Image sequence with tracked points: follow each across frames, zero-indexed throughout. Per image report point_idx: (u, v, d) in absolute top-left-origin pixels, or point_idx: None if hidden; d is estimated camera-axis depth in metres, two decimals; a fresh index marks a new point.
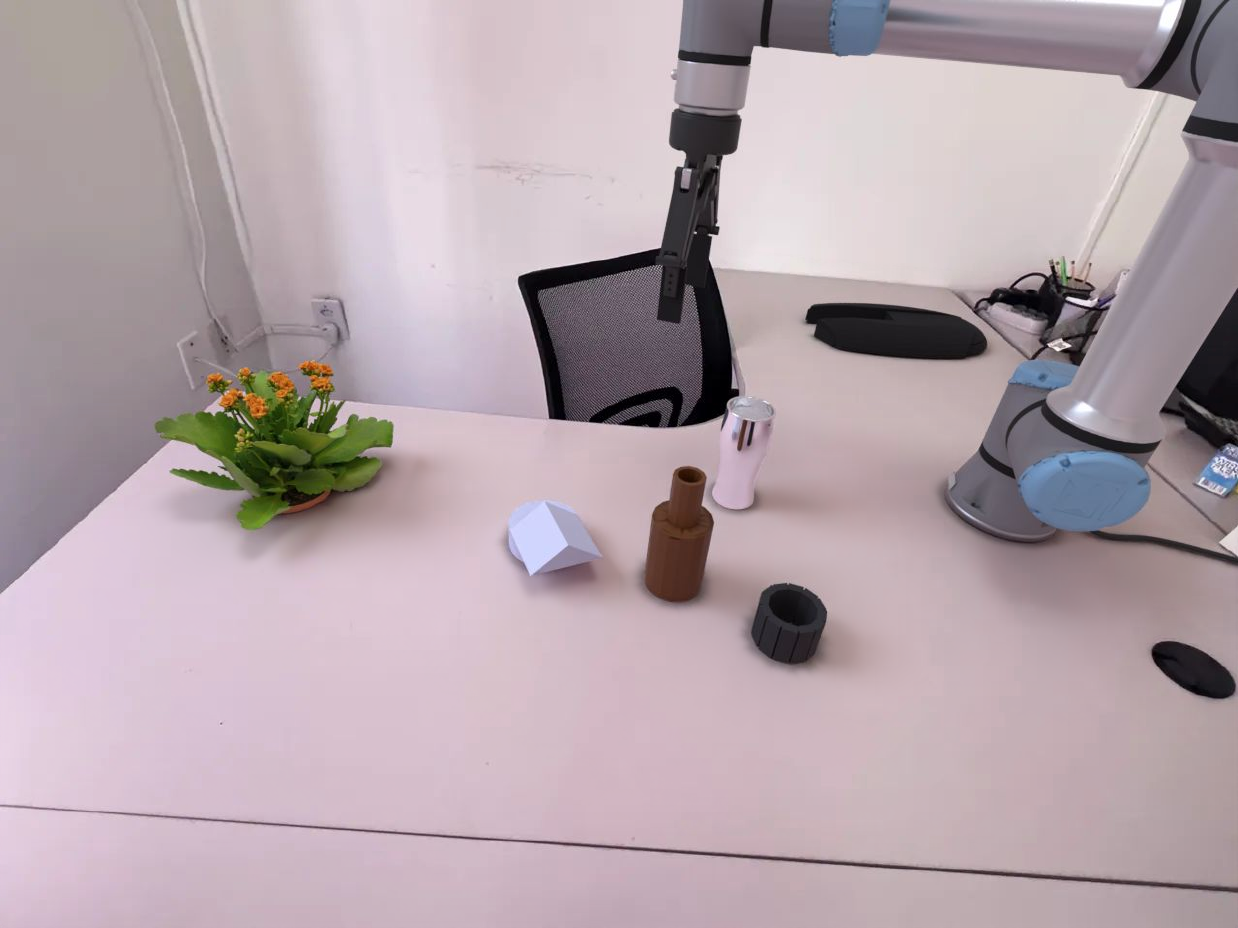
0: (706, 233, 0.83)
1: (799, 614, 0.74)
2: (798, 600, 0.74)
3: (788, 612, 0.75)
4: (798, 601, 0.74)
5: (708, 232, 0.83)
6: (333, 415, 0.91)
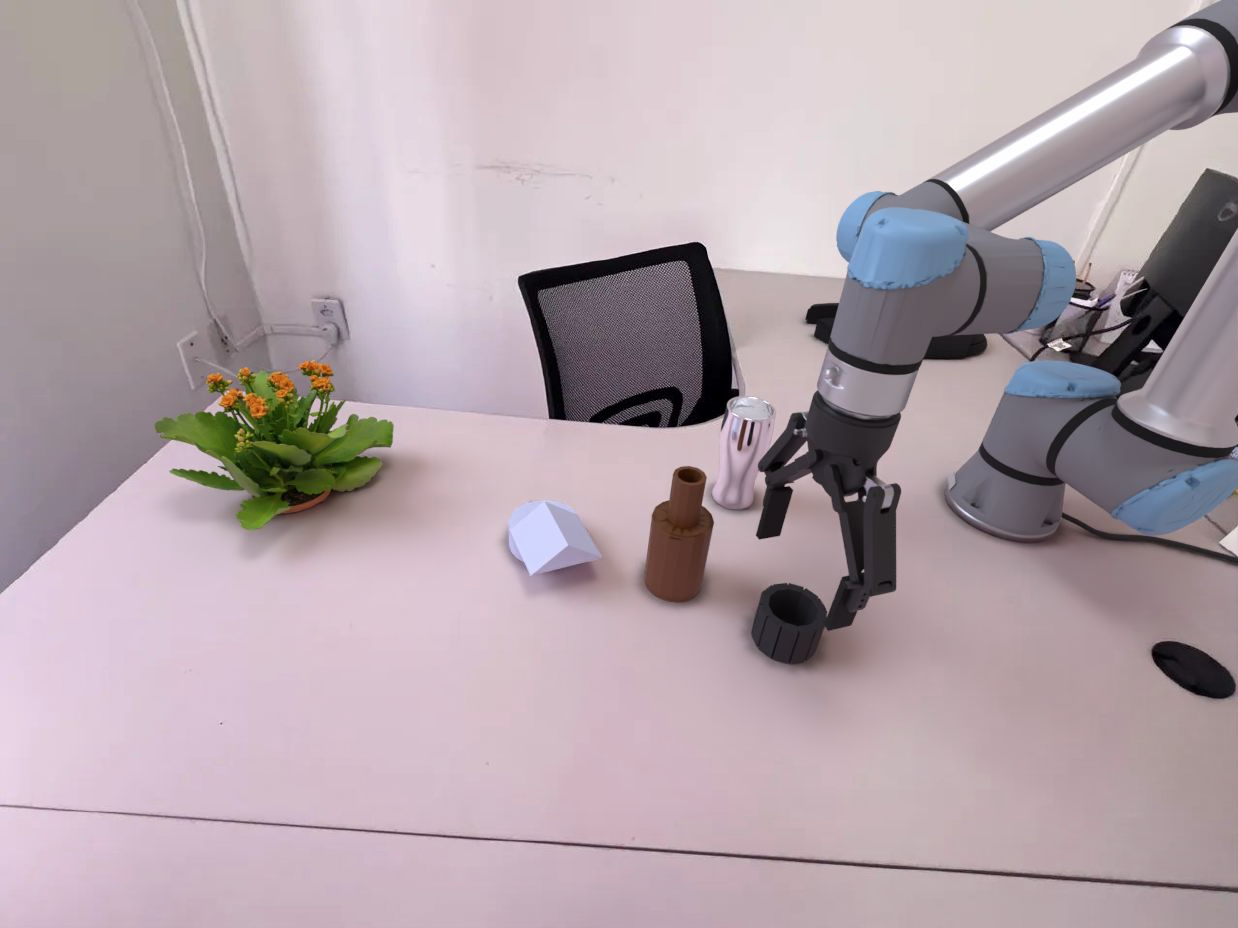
0: (783, 485, 0.70)
1: (799, 614, 0.74)
2: (798, 600, 0.74)
3: (788, 612, 0.75)
4: (798, 601, 0.74)
5: (785, 483, 0.70)
6: (333, 415, 0.91)
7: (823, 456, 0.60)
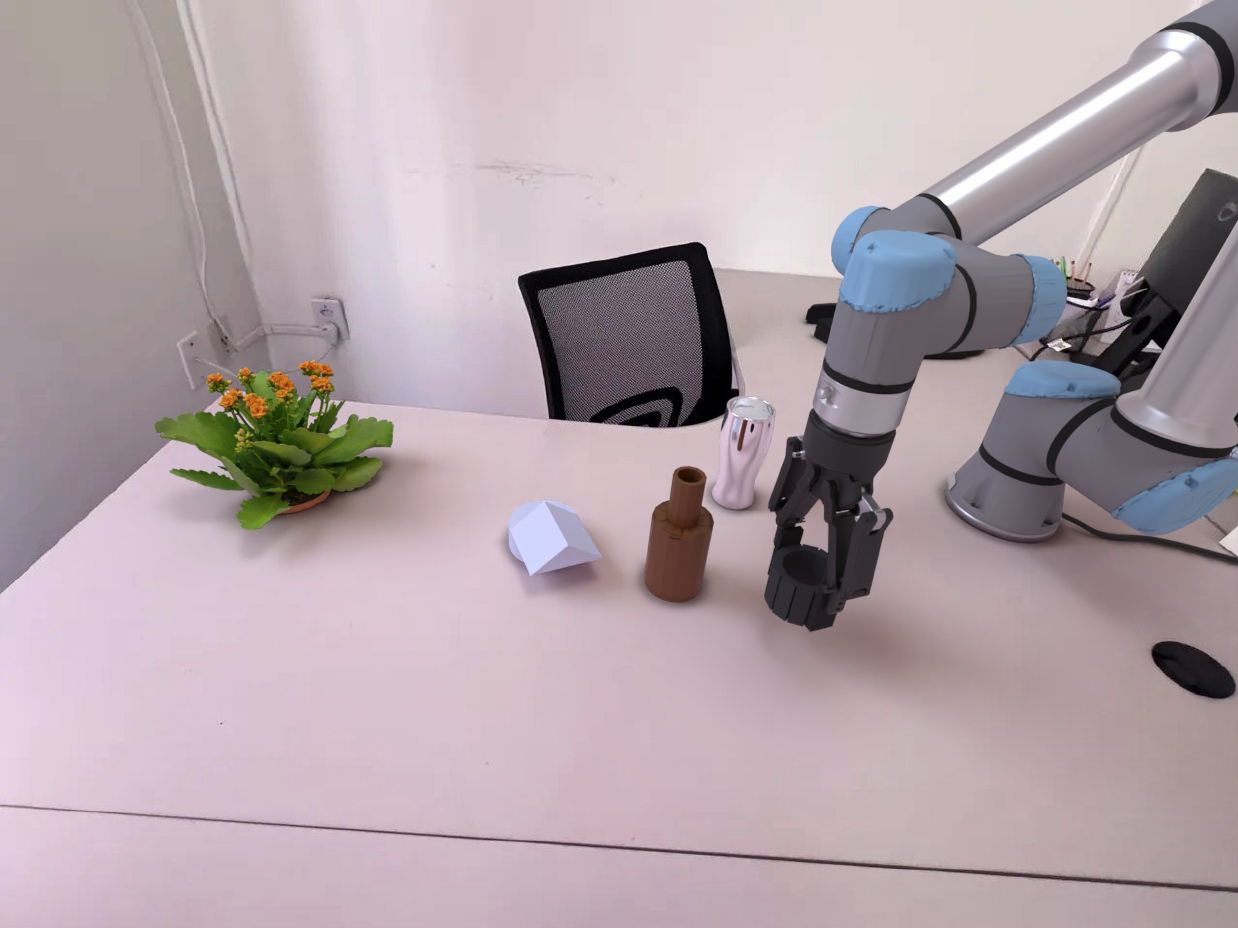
0: (795, 524, 0.70)
1: (814, 576, 0.71)
2: (813, 561, 0.71)
3: (802, 575, 0.72)
4: (813, 562, 0.71)
5: (797, 522, 0.70)
6: (333, 415, 0.91)
7: (820, 469, 0.61)
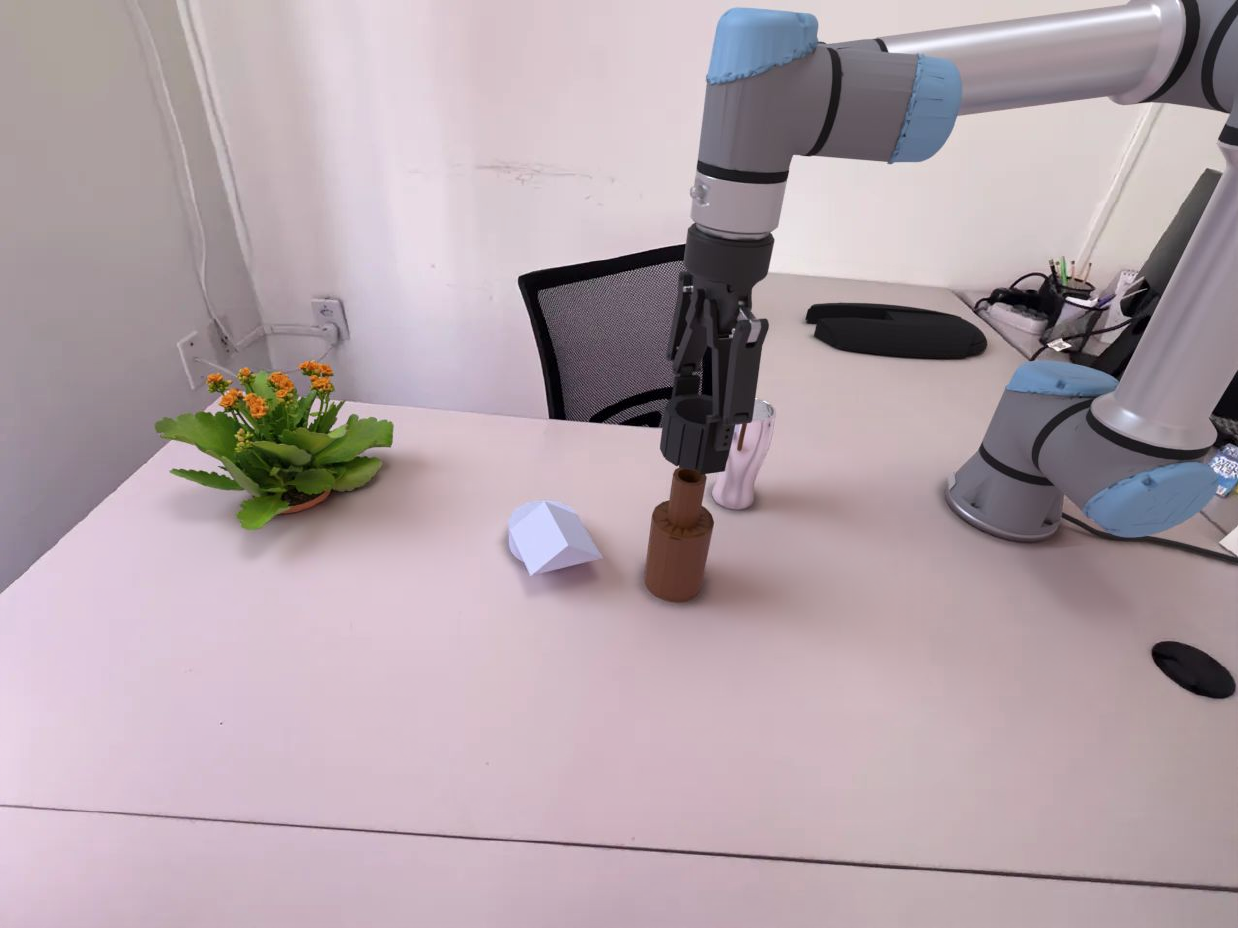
0: (692, 372, 0.68)
1: None
2: (710, 411, 0.69)
3: None
4: (710, 412, 0.69)
5: (693, 370, 0.68)
6: (333, 415, 0.91)
7: (704, 292, 0.59)
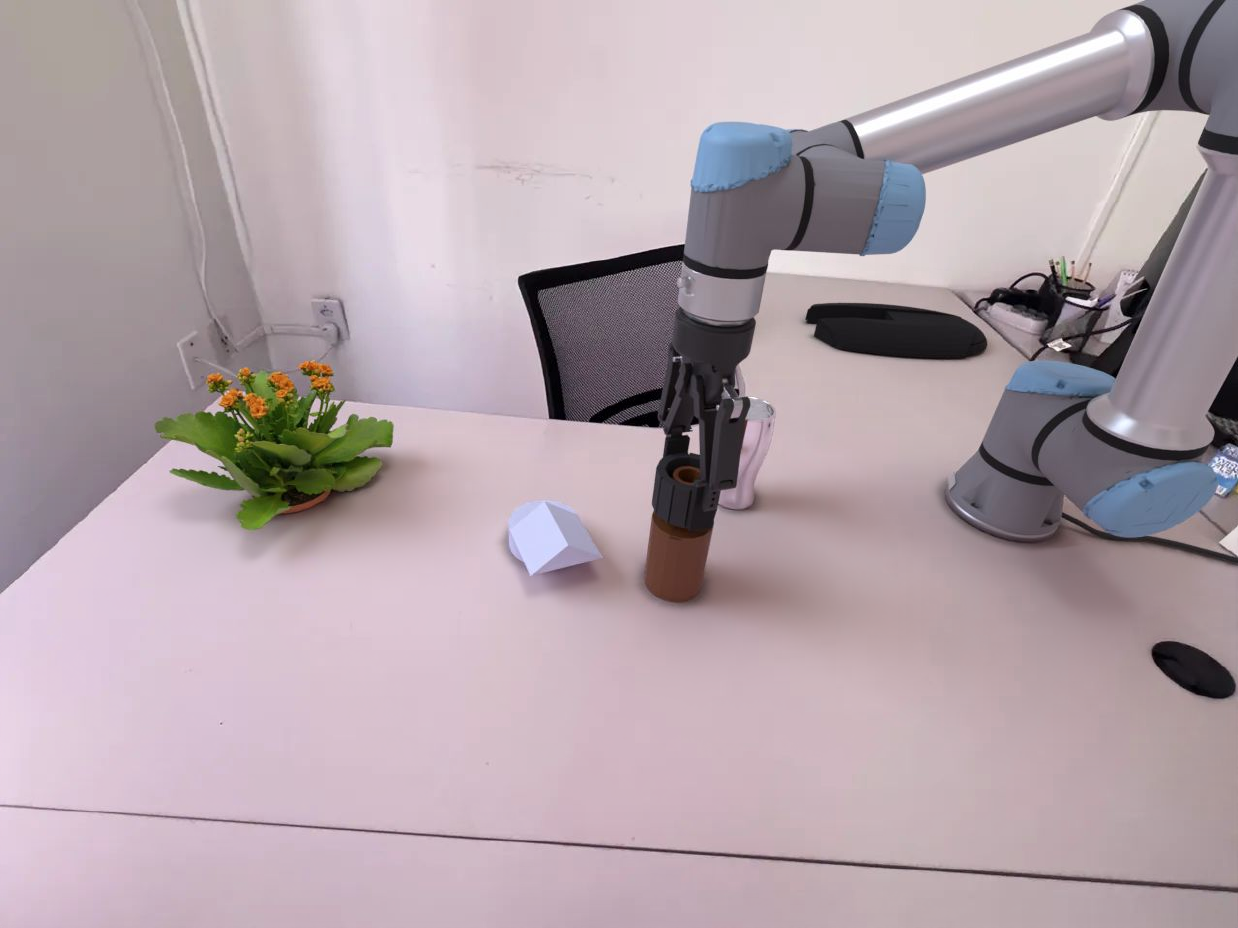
0: (681, 432, 0.73)
1: None
2: None
3: None
4: None
5: (683, 431, 0.73)
6: (333, 415, 0.91)
7: (692, 367, 0.64)
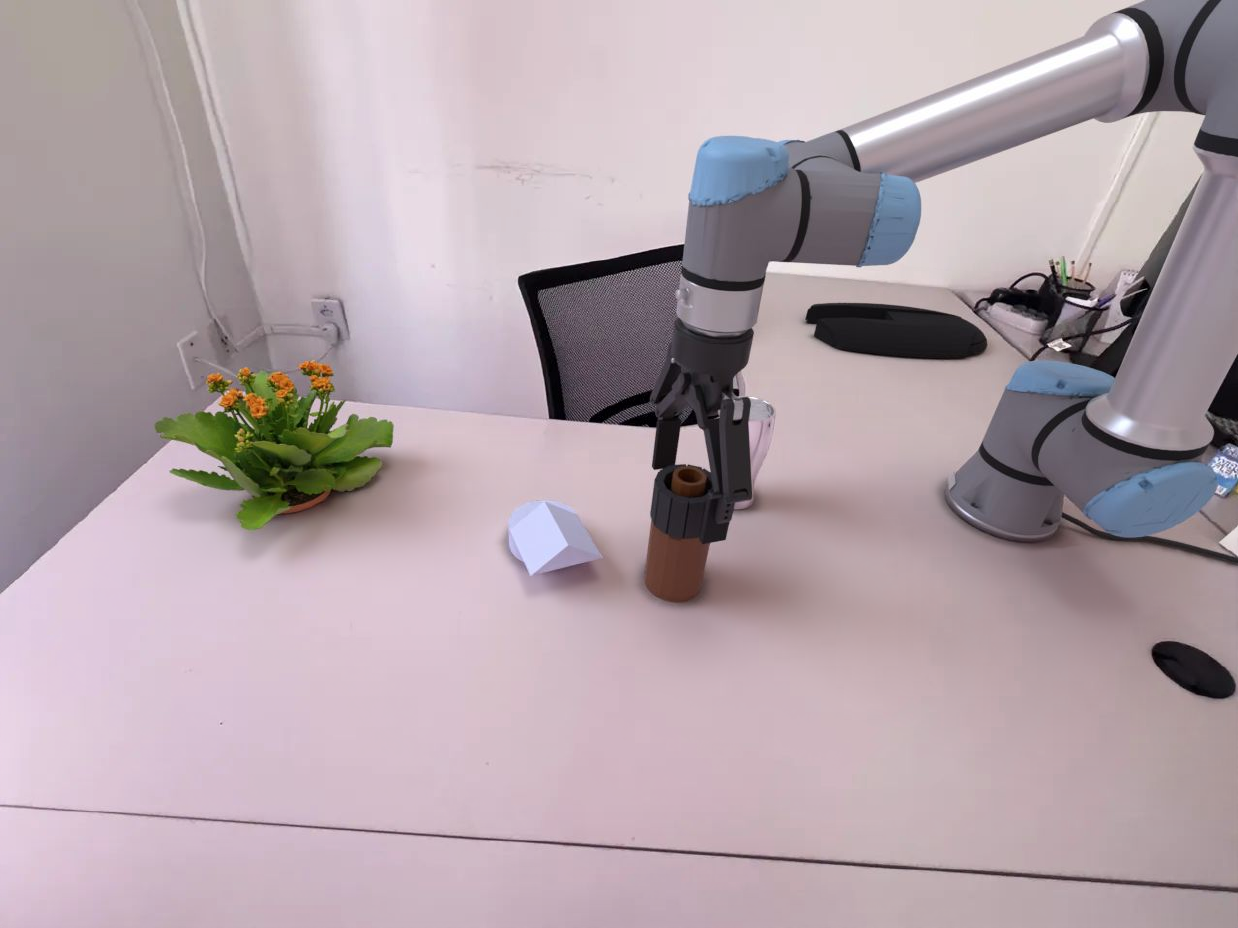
0: (672, 416, 0.75)
1: None
2: None
3: None
4: None
5: (674, 414, 0.75)
6: (333, 415, 0.91)
7: (691, 379, 0.65)
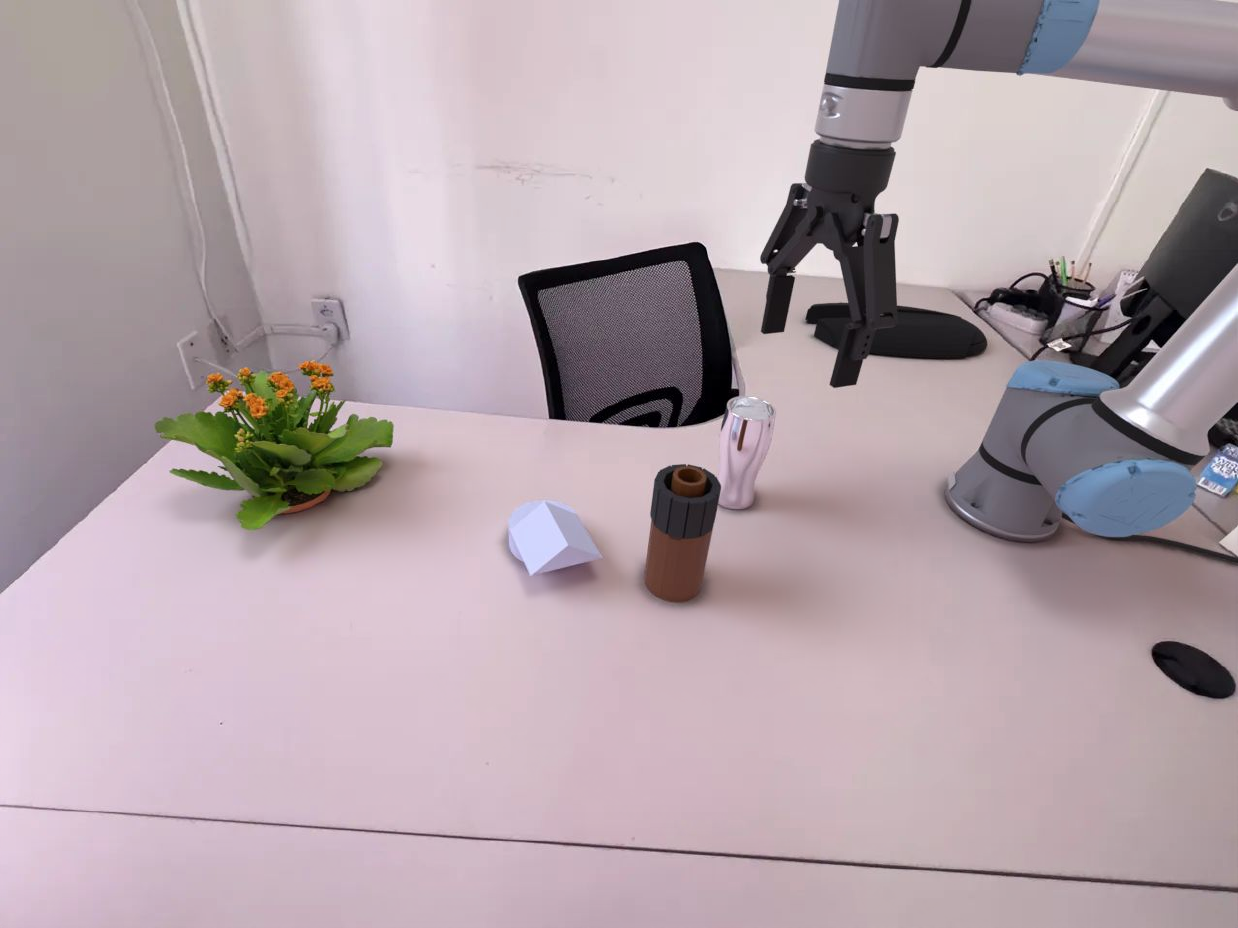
0: (786, 273, 0.73)
1: None
2: None
3: None
4: None
5: (787, 272, 0.73)
6: (333, 415, 0.91)
7: (823, 211, 0.62)
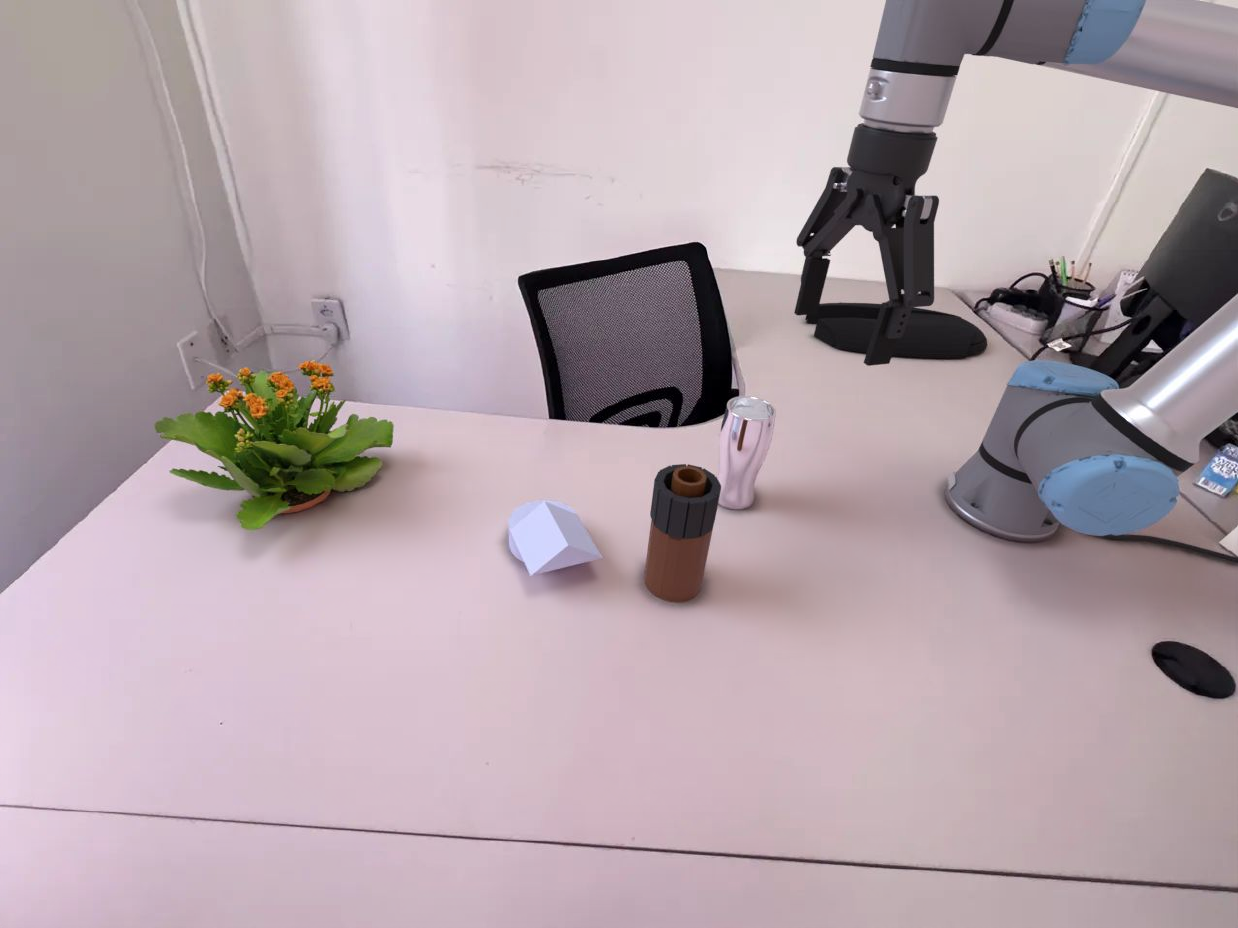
0: (821, 256, 0.75)
1: None
2: None
3: None
4: None
5: (823, 254, 0.75)
6: (333, 415, 0.91)
7: (863, 193, 0.65)
